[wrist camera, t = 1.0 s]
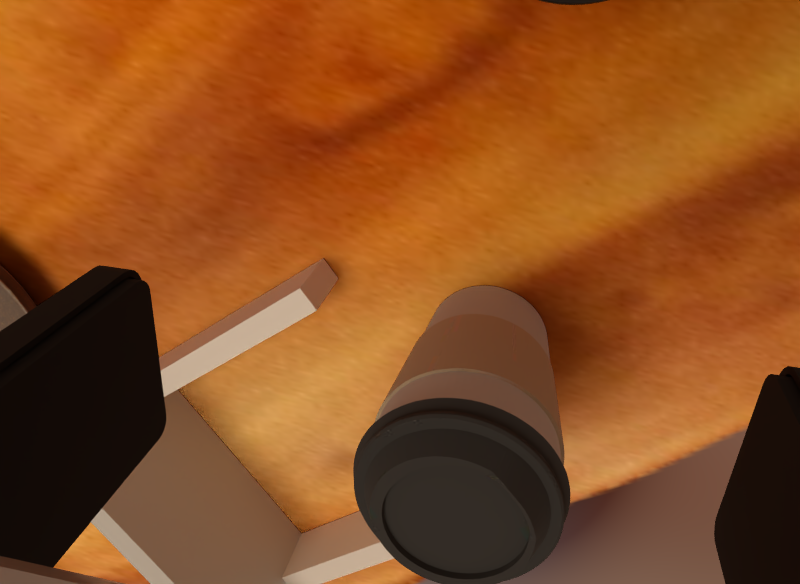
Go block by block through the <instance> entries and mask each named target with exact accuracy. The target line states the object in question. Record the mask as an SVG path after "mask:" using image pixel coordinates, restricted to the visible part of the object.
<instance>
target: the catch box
mask: <svg viewBox="0 0 800 584" xmlns="http://www.w3.org/2000/svg"><path fill="white" fill-rule="evenodd" d="M337 280H338V277H337V276H336V275H335V273H334V272H333V271H332V269H331V268H330V266H329V265H328V264H327V262H326V261H325V260H324V258H323V259H321V260H319V261H318V262H316V263H315V264H313V265H311V266H310V267H308V268H306V269H305V270H303V271H301V272H300V273H298V274H296V275H295V276H293V277H291V278H290V279H288V280H286V281H285V282H283V283H281V284H280V285H278V286H277V287H275V288H273V289H272V290H270V291H268V292H267V293H265V294H263V295H262V296H260V297H258V298H257V299H255V300H253V301H252V302H250V303H248V304H247V305H245V306H243V307H242V308H240V309H239V310H237V311H235V312H234V313H232V314H230V315H229V316H227V317H225V318H224V319H222V320H220V321H219V322H217V323H215V324H214V325H212V326H210V327H209V328H207V329H205V330H204V331H202V332H201V333H199V334H197V335H196V336H194V337H192V338H191V339H189V340H187V341H186V342H184V343H182V344H181V345H179V346H177V347H176V348H174V349H172V350H171V351H169V352H167V353H166V354H164V355H163V356H161V357H159V363H160V370H161V378H162V385H163V393H164V401H165V408H166V425H165V429H164V432H163V434H162V436H161V437H160V439H159V440H158V441H157V442H156V444H155V445H154V446H153V447H152V449H151V450H150V451H149V452H148V453H147V455H146V456H145V457H144V458H143V459H142V461H141V462H140V463H139V464H138V465H137V467H136V468H135V469H134V470H133V471H132V473H131V474H130V475H129V476H128V478H127V479H126V480H125V481H124V482H123V484H122V485H121V486H120V487H119V488H118V490H117V491H116V492H115V493H114V494H113V496H112V497H111V498H110V499H109V500H108V502H107V503H106V504H105V505H104V506H103V508H102V509H101V510H100V511H99V513H98V514H97V515H96V516H95V517H94V519H93V520H92V521H91V523H92V524H93V525H94V526H95V527H96V528H97V529H98V530H99V531H100V532H101V533H102V534H103V535H104V536H105V537H106V538H107V539H108V540H109V541H110V542H111V543H112V544H113V545H114V546H115V547H116V548H117V549H118V550H119V552H120V553H121V554H122V555H123V556H124V557H125V558H126V559H127V560H128V561H129V562H130V563H131V564H132V565H133V566H134V567H135V568H136V569H137V570H138V571H139V572H140V573H141V574H142V575H143V576H144V577H145V578H146V579H147V580H148V581H149V582H150V584H322V583H325V582H328V581H330V580H333V579H336V578H339V577H342V576H345V575H348V574H351V573H353V572H356V571H359V570H362V569H365V568H368V567H371V566H374V565H376V564H379V563H382V562H385V561H388V560H391V559H394V557H393V556H392V555H391V554H390V553H389V552H388V551H387V550H386V549H385V548H384V546H383V545H382V543H381V542H380V540H379V539H378V538H377V537H376V536H375V534H374V533H373V532H372V531H371V529H370V528H369V526H368V525H367V523H366V522H365V520H364V518H363V516H362V514H361V512H360V511H358V512H356V513H353V514H350V515H348V516H345V517H343V518H340V519H338V520H335V521H333V522H330V523H328V524H325V525H322V526H320V527H317V528H315V529H312V530H310V531H307V532H305V533H302V534H301V533H300V531H299V530H298V529H297V528H296V527H295V526H294V524H293V523H292V522H291V521H290V520H289V519H288V517H287V516H286V515H285V514H284V513H283V512H282V510H281V509H280V508H279V507H278V506H277V505H276V503H275V502H274V501H273V500H272V499H271V498H270V497H269V495H268V494H267V493H266V492H265V491H264V490H263V488H262V487H261V486H260V485H259V484H258V483H257V481H256V480H255V479H254V478H253V477H252V476H251V474H250V473H249V472H248V471H247V470H246V469H245V467H244V466H243V465H242V464H241V463H240V462H239V460H238V459H237V458H236V457H235V456H234V455H233V454H232V452H231V451H230V450H229V449H228V448H227V447H226V445H225V444H224V443H223V442H222V441H221V440H220V438H219V437H218V436H217V435H216V434H215V433H214V431H213V430H212V429H211V428H210V427H209V426H208V424H207V423H206V422H205V421H204V420H203V419H202V417H201V416H200V415H199V414H198V413H197V412H196V411H195V409H194V408H193V407H192V406H191V405H190V404H189V402H188V401H187V400H186V399H185V398H184V397H183V395H182V394H181V393H180V392H179V391H178V390H177V389H179V388H181V387H183V386H185V385H186V384H188V383H190V382H192V381H193V380H195V379H197V378H199V377H200V376H202V375H204V374H206V373H207V372H209V371H211V370H213V369H215V368H216V367H218V366H220V365H222V364H223V363H225V362H227V361H229V360H230V359H232V358H234V357H236V356H237V355H239V354H241V353H243V352H245V351H246V350H248V349H250V348H252V347H253V346H255V345H257V344H259V343H260V342H262V341H264V340H266V339H267V338H269V337H271V336H273V335H275V334H276V333H278V332H280V331H282V330H283V329H285V328H287V327H289V326H290V325H292V324H294V323H296V322H297V321H299V320H301V319H303V318H305V317H306V316H308V315H310V314H312V313H313V312H315V311H317V310H318V308H319V307H320V305H321V304H322V302H323V301H324V299H325V298H326V296H327V295H328V294H329V292H330V291H331V289H332V288H333V286H334V285H335V283H336V282H337Z"/></svg>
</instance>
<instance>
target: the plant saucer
mask: <svg viewBox="0 0 800 584" xmlns="http://www.w3.org/2000/svg"><path fill="white" fill-rule="evenodd" d="M35 307H37V306H36V304H35V303H34V301H33V300H32V299H31V297H30V296H29V295H28V293H27V292H26V291H25V290H24V288H23V287H22V286H21V285H20V284H19V283H18V282H17V281H16V280H15V279H14V278H13V277H12V276H11V275H10V274H9V273H8V272H7V271H6V270H5V269H4V268H3V267H2V266H1V265H0V331H1V330H3V329H4V328H6V327H7V326H9V325H10V324H12V323H13V322H15V321H16V320H18V319H19V318H21V317H22V316H23V315H25V314H26V313H28V312H29V311H31V310H32V309H34V308H35Z"/></svg>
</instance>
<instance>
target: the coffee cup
mask: <svg viewBox="0 0 800 584" xmlns="http://www.w3.org/2000/svg"><path fill="white" fill-rule="evenodd" d="M563 465H564V445H563V437H562V430H561V423H560V416H559V409H558V401H557V394H556V387H555V380H554V373H553V369H552V366H551V363H550V356H549V347H548V338H547V332H546V328H545V325H544V323H543V321H542V319H541V317H540V315H539V314H538V312H537V311H536V310H535V308H534V307H533V306H532V305H531V304H530V303H529V302H527V301H526V300H525V299H524V298H522V297H521V296H519V295H517V294H516V293H514V292H511V291H509V290H506V289H503V288H500V287H495V286H473V287H468V288H465V289H462V290H459V291H457V292H455V293H454V294H452V295H450V296H449V297H448V298H446V299H445V300H444V301H443V302H442V303H441V304H440V306H439V307H438V308H437V310H436V312H435V314H434V316H433V317H432V319H431V321H430V323H429V325H428V327H427V329H426V331H425V332H424V333H423V334H422V336H421V337H420V338H419V339H418V341H417V342H416V344H415V346H414V347H413V349H412V351H411V353H410V355H409V357H408V358H407V360H406V362H405V364H404V366H403V367H402V369H401V371H400V373H399V375H398V377H397V378H396V380H395V382H394V384H393V386H392V387H391V389H390V391H389V393H388V395H387V397H386V398H385V400H384V402H383V404H382V406H381V407H380V409H379V412H378V414H377V417H376V420H375V423H374V424H373V425H372V426H371V427H370V428H369V429H368V430H367V432H366V433H365V435H364V436H363V438H362V439H361V441H360V443H359V446H358V448H357V451H356V454H355V459H354V470H353V471H354V490H355V496H356V500H357V504H358V507H359V509H360V512H361V514H362V516H363V518H364V520H365V522H366V523H367V525H368V526H369V528H370V529H371V531H372V532H373V533H374V534H375V536H376V537H377V538H378V539H379V540H380V542H381V543H382V545H383V546H384V548H385V549H386V550H387V551H388V552H389V553H390V554H391V555H392V556H393V557H394V558H395V559H396V560H397V561H398V562H399V563H401V564H402V565H403V566H405V567H406V568H408V569H409V570H411V571H412V572H414V573H416V574H418V575H420V576H422V577H424V578H426V579H429V580H432V581H434V582H438V583H441V584H496V583H500V582H502V581H506V580H510V579H513V578H516V577H518V576H521V575H523V574H525V573H527V572H528V571H530V570H532V569H534V568H535V567H537V566H538V565H539V564H541V563H542V562H543V561H544V560H545V559H546V558H547V557H548V556H549V555H550V554H551V552H552V551H553V549H554V548H555V547H556V545H557V543H558V541H559V539H560V536H561V533H562V529H563V524H564V522H565V520H566V517H567V514H568V510H569V505H570V486H569V481H568V477H567V473H566V471H565V468H564V466H563Z"/></svg>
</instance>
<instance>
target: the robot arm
mask: <svg viewBox="0 0 800 584" xmlns="http://www.w3.org/2000/svg"><path fill="white" fill-rule="evenodd" d="M165 425H166V408H165V401H164V393H163V385H162V378H161V370H160V363H159V355H158V347H157V340H156V332H155V325H154V317H153V309H152V302H151V294H150V289H149V286H148V284H147V283H146V282H145V281H142V280H141V278H140V276H139V274H138V273H137V272H136V271H134V270H128V269H121V268H115V267H108V266H97V267H95V268H93V269H92V270H90V271H89V272H87V273H86V274H84V275H83V276H81V277H80V278H78V279H77V280H75V281H74V282H72V283H71V284H69V285H68V286H66V287H65V288H63V289H62V290H61V291H59V292H58V293H56V294H55V295H53V296H52V297H50V298H49V299H47V300H46V301H44V302H43V303H41V304H40V305H38V306H37V307H35V308H34V309H32V310H31V311H29V312H28V313H26V314H25V315H23V316H22V317H21V318H19V319H18V320H16V321H15V322H13V323H12V324H10V325H9V326H7V327H6V328H4V329H3V330H1V331H0V584H124V583H119V582H115V581H110V580H106V579H101V578H97V577H92V576H88V575H83V574H79V573H74V572H70V571H65V570H61V569H56V568H53V567H54V566H55V564H56V563H57V562H58V561H59V560H60V558H61V557H62V556H63V555H64V554H65V552H66V551H67V550H68V549H69V548H70V546H71V545H72V544H73V543H74V542H75V540H76V539H77V538H78V537H79V535H80V534H81V533H82V532H83V531H84V529H85V528H86V527H87V526H88V525H89V523H90V522H91V521H92V520H93V519H94V517H95V516H96V515H97V514H98V513H99V511H100V510H101V509H102V508H103V506H104V505H105V504H106V503H107V502H108V500H109V499H110V498H111V497H112V496H113V494H114V493H115V492H116V491H117V490H118V488H119V487H120V486H121V485H122V484H123V482H124V481H125V480H126V479H127V478H128V476H129V475H130V474H131V473H132V471H133V470H134V469H135V468H136V467H137V465H138V464H139V463H140V462H141V461H142V459H143V458H144V457H145V456H146V455H147V453H148V452H149V451H150V450H151V449H152V447H153V446H154V445H155V444H156V442H157V441H158V440H159V439H160V437H161V436H162V434H163V432H164V429H165ZM714 532H715V533H714V535H715V544H716V548H717V552H718V556H719V560H720V564H721V568H722V572H723V575H724V579H725V583H726V584H800V368H797V367H790V366H788V367H786V368H784V369H783V370H782V372H781V373H780V375H774V374H770V375H768V376H767V378H766V379H765V381H764V383H763V386H762V389H761V392H760V395H759V397H758V400H757V403H756V406H755V409H754V412H753V414H752V417H751V420H750V423H749V426H748V429H747V431H746V435H745V437H744V440H743V443H742V446H741V448H740V451H739V454H738V457H737V460H736V463H735V466H734V469H733V471H732V474H731V477H730V480H729V483H728V485H727V488H726V491H725V494H724V497H723V500H722V502H721V505H720V508H719V511H718V514H717V517H716V521H715V531H714Z"/></svg>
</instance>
